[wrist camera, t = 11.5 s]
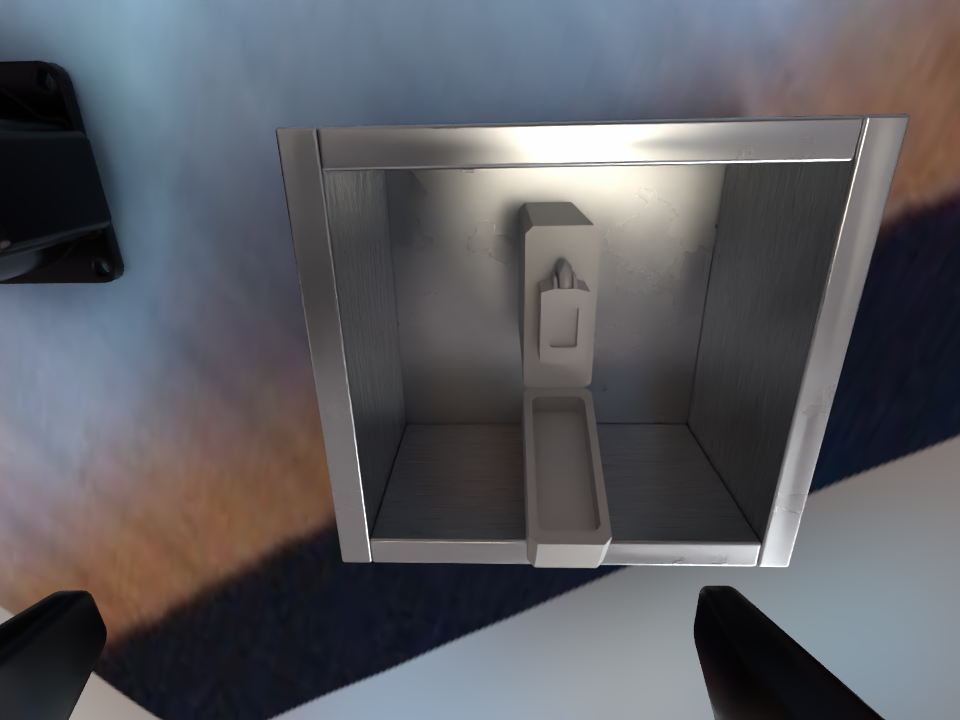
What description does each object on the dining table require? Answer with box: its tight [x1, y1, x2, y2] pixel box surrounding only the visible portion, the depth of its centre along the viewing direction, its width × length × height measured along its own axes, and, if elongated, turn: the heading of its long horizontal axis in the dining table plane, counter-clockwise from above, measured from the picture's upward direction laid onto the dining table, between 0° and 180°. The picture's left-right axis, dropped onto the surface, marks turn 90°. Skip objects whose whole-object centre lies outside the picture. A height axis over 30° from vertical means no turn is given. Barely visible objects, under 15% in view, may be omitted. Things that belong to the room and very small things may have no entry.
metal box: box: [276, 114, 909, 567], centre depth 15 cm, size 12×11×7 cm
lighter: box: [518, 202, 612, 568], centre depth 14 cm, size 7×2×8 cm, turn 1°
